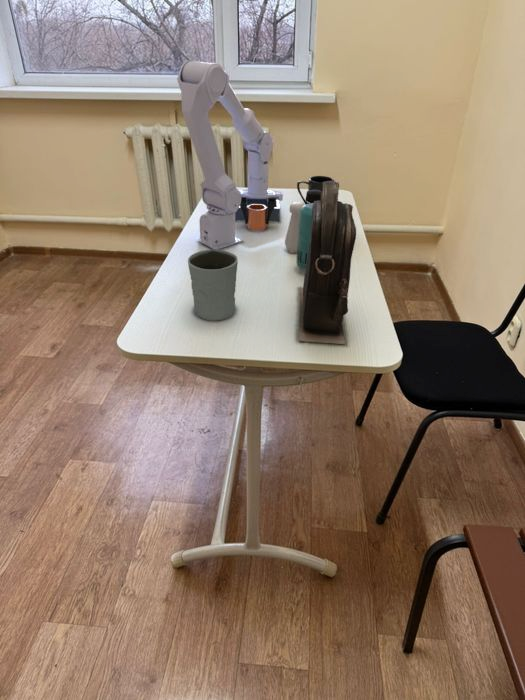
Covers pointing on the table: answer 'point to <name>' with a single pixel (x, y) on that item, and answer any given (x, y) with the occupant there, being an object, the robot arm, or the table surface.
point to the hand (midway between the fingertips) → (256, 223)
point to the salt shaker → (293, 227)
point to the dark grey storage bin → (275, 211)
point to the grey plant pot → (213, 283)
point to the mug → (314, 184)
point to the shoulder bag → (327, 269)
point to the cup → (257, 216)
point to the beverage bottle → (306, 227)
